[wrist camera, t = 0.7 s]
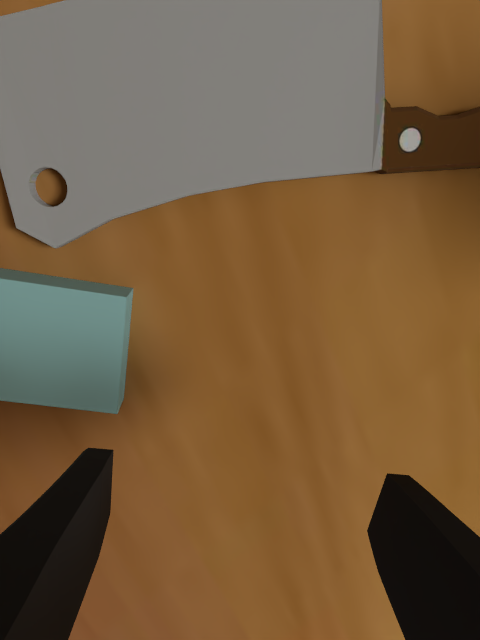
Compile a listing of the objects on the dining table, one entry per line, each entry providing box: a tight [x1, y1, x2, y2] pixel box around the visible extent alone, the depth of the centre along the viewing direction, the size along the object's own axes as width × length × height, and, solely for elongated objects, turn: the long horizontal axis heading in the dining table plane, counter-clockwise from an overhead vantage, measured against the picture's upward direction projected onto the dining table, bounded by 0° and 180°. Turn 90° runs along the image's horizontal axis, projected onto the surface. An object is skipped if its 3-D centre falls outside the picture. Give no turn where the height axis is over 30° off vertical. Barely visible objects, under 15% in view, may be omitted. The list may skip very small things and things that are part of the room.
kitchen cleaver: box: [0, 0, 480, 248], centre depth 14 cm, size 24×1×10 cm
